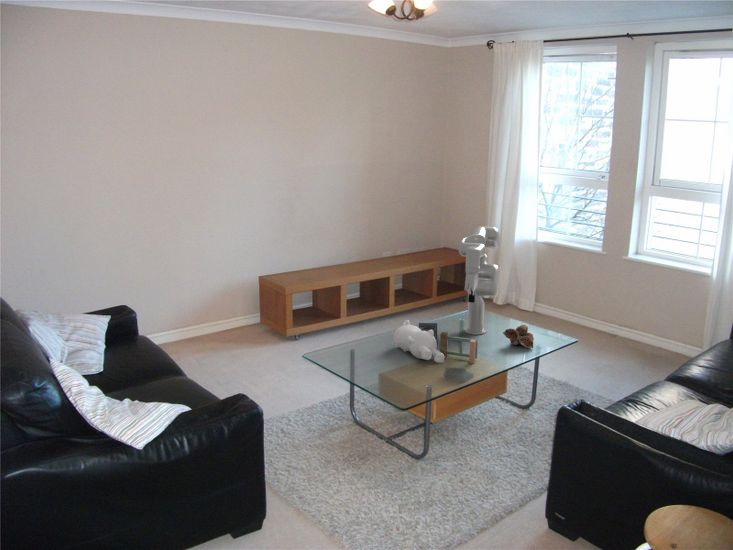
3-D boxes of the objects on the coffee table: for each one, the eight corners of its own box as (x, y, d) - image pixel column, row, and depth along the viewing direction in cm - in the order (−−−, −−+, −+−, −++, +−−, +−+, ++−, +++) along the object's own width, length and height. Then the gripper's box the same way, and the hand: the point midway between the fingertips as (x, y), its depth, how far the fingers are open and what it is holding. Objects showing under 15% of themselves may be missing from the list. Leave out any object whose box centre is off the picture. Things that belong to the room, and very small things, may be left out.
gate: (442, 354, 353) (443, 335, 350) (444, 353, 355) (444, 334, 352) (476, 359, 346) (477, 339, 343) (477, 358, 348) (478, 338, 345)
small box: (437, 340, 377) (437, 322, 374) (437, 344, 371) (437, 326, 368) (418, 339, 378) (418, 322, 375) (418, 343, 372) (418, 326, 369)
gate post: (441, 356, 353) (442, 331, 349) (446, 357, 352) (447, 332, 348) (439, 358, 350) (440, 333, 347) (445, 359, 349) (445, 334, 345)
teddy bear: (415, 367, 336) (382, 340, 365) (441, 374, 345) (406, 346, 374) (430, 334, 333) (395, 309, 362) (456, 342, 343) (420, 316, 372)
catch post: (470, 361, 346) (471, 339, 343) (474, 362, 345) (475, 340, 342) (469, 363, 344) (469, 341, 341) (473, 363, 343) (474, 342, 340)
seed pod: (495, 330, 371) (514, 330, 356) (518, 318, 378) (537, 317, 364) (503, 354, 372) (522, 355, 357) (526, 341, 380) (546, 342, 365)
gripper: (469, 265, 362) (468, 296, 368) (461, 272, 350) (460, 305, 355) (483, 266, 359) (482, 298, 365) (475, 274, 346) (474, 307, 352)
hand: (471, 301), depth 360 cm, fingers closed
